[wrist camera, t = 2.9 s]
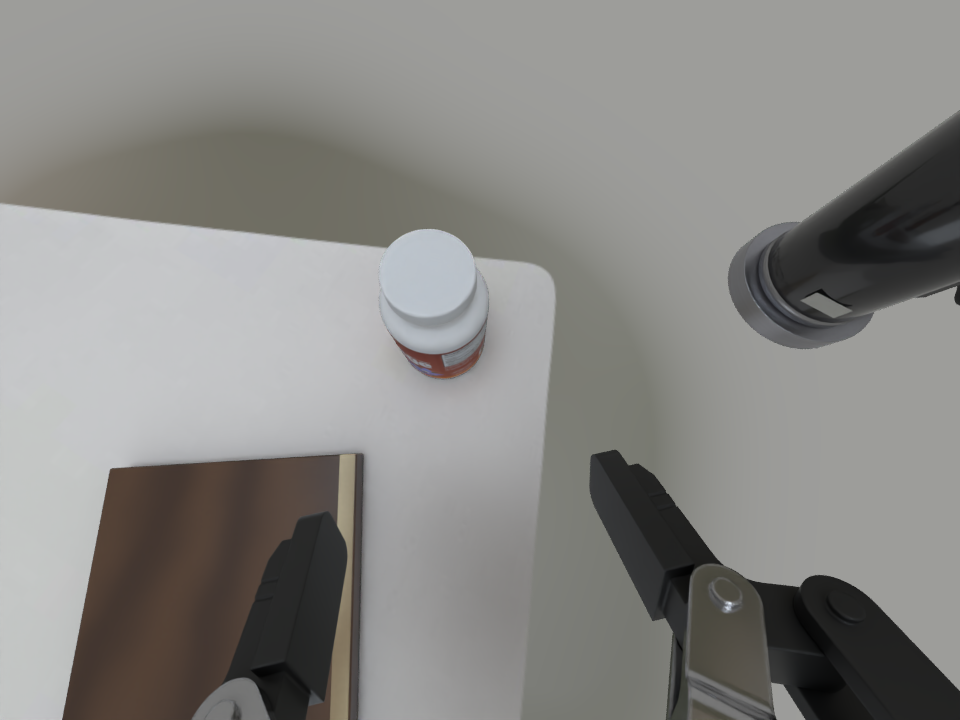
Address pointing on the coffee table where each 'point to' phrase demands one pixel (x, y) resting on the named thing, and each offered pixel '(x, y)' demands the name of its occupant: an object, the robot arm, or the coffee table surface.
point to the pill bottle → (434, 302)
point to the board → (202, 581)
